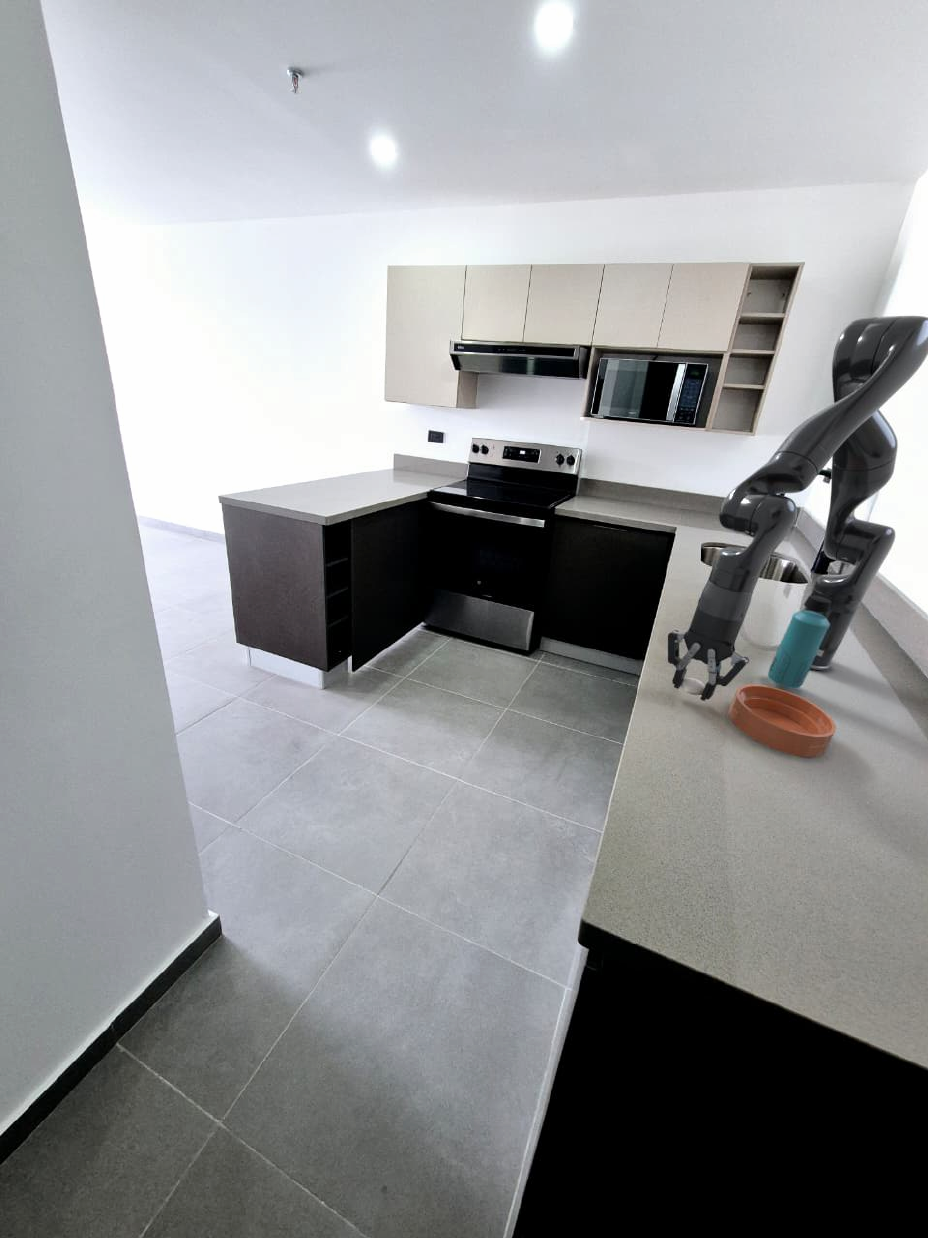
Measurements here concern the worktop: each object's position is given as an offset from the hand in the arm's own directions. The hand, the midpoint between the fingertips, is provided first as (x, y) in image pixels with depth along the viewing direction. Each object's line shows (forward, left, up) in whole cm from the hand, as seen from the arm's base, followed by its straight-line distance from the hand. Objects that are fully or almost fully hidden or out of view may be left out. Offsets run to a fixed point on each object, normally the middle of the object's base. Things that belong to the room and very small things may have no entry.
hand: (690, 692), depth 90 cm
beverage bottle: (-24, +11, -2) cm, 26 cm away
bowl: (-4, +14, -2) cm, 15 cm away
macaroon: (0, 0, 0) cm, 0 cm away
